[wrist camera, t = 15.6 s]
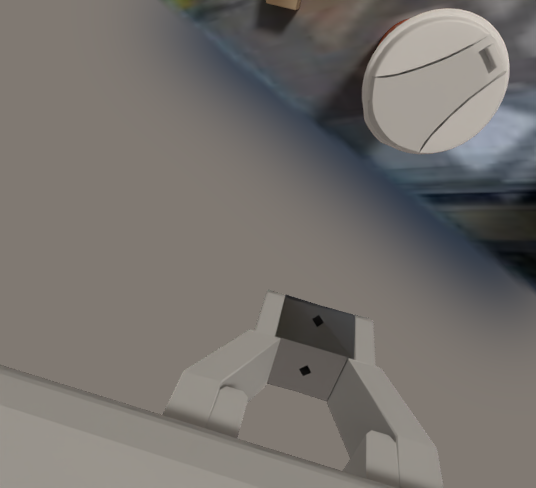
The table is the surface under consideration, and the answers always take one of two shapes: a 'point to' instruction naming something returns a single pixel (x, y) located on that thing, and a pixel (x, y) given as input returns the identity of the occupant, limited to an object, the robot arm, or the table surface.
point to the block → (286, 3)
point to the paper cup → (435, 81)
